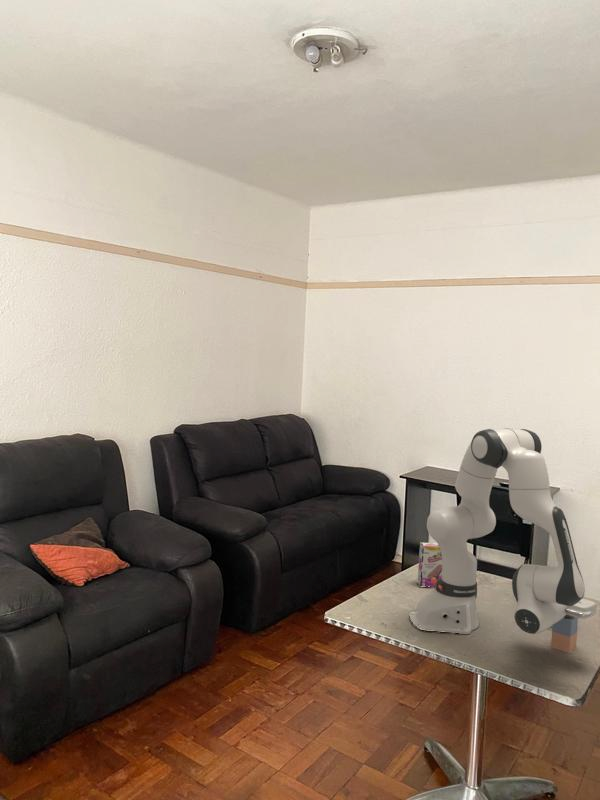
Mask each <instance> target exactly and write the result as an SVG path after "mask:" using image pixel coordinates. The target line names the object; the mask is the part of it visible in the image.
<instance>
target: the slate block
mask: <svg viewBox="0 0 600 800" xmlns="http://www.w3.org/2000/svg"><path fill="white" fill-rule="evenodd" d="M578 623H579V618H577V617H573V616H572V617H568V616H565V617H564V618H562V619H561V620H560V621H558V622H557V623H555V624H553V625H552V627H551V628H552V629H551V633H552V632H556V633H559V634H562V635H565V636H568V637H571V636H572V635H574V634H575V633H576V632H577V633H578V625H579V624H578Z"/></svg>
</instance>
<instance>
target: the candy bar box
mask: <svg viewBox="0 0 600 800" xmlns="http://www.w3.org/2000/svg"><path fill="white" fill-rule="evenodd" d="M433 577H435V578H436V579H437V580H439V579H440V578H441V577H442V554H441V550H440V547H439V545H438V543H437V542H419V552H418V570H417V584H418V583H419V585H420V586H427V587H428V586H430V587H436V585H434V584H433V583H432V582H431V579H432V578H433ZM419 585H418V586H419ZM420 586H419V587H420Z"/></svg>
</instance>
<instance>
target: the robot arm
mask: <svg viewBox="0 0 600 800" xmlns="http://www.w3.org/2000/svg"><path fill="white" fill-rule="evenodd" d="M541 441H542V440H541V438H540V437H539V435H538V434H537V433H536V432H534V431H532V430H528V429H524V428H521V429H520V428H519V429H518V428H514V427H513V428H512V427H509V428H507V427H504V428H495V429H492V428H487V429H482V430H479V431H478V432H476V433H475V434H474V435H473V437H472V439H471V442H470V443H469V445H468V447H467V448H466V451H465V452H464V453H465V454H464V455H463V458H462V460H461V464H460V467H459V470H458V473H457V477H456V480H455V484H454V488H455V490H456V492H457V493H458V495H459V496H460V497H461V500H460V503H459V504H458V505H456V506H447V507H442V508H439V509H437V510H435V511H432V512H431V513H430V514H429V515H428V516H427V520H426V528H427V533H428V534H429V536H430V537H431V538H432V539H433V540H434V541H435V543H438V545H439V547H440V550H441V554H442V577H441V578H440V579H439V580H437V579H436V578H435V577H433V578H432V579H431V582H432V583H433V584H434V585H436V588H434V589H433V590H431V591H430V592H428V594H426V595H424V596H422V597H421V598H419V600H418V602H417V605H416V611H410V612H409V616H410V618H411V620H412V621H413V622H414V623H415V625H417V626H418V627H419V628H422V629H425V630H434V631H445V632H452V633H451V634H455V633H459V635H469V634H471V633H472V632H473V631H474V630H476V629H478V628H479V626H480V623H479V618H478V612H477V601H476V600H477V595H478V581H477V572H478V571H477V569H478V560H477V557H476V556H475V555H474V554H473V553H472V552H471V551H469V549H468V545H467V543H468V540H472V539H478V538H482V537H484V536H486V535H488V534H490V533H492V532H493V531H494V530H495V527H496V525H497V519H496V518H497V517H496V514H495V512H494V511H493V509H492V507H490V495H491V491H492V488H493V485H494V482H495V478H496V475H497V472H498V469H499V468H501V467H502V468H503V469H505V470H506V473H507V475H508V497H509V502H510V507H511V508H512V511H513V512H514V513H515V514H516V515H517V516H518V517H520V518H521V519H523V520H524V521H526V522H528V523H531V524H534V525H536V526H538V527H540V528H542V529H543V530H545V531H546V532H547V533H548V535H549V536H550V537H551V540H552V543H553V547H554V552H555V556H556V561H557V564H558V566H552V565H551V566H550V565H549V566H548V565H541V564H530V563H522V564H521V565H520V566H519V567H517V569H516V571H515V572H514V574H513V576H512V579H511V581H512V582H511V585H512V586H511V587H512V593H513V596H514V598H515V601H516V602H517V605H516V608H515V611H514V616H513V617H514V621H515V624H516V625H517V626H518V627H519V629H520V630H522V631H523V632H525V633H527V634H530V635H538V634H540V633H543V632H545V631H547V630H548V629H550V628H552V627H551V626H552V625H553V624H555V623H557V622H558V621H560V620H561V619H562V618H564V617H565V615H566V614H567V615H570V616H573V617H577V618H578V619H583V620H586V619H590V618H592V617H593V616H595V615H596V614H597V603H596V602H595V601H592V600H589V599H585V598H584V596H585V591H586V590H585V589H586V588H585V583H584V579H583V576H582V573H581V570H580V568H579V567H580V566H579V565H578V561H577V557H576V553H575V548H574V545H573V540H572V536H571V531H570V528H569V525H568V521H567V518H566V516H565V513H564V511H563V510H562V508H559V507H558V506H556V503H555V502H554V500H553V498H552V495H551V487H550V478H549V472H548V468H547V464H546V459H545V458H544V456H543V455H542V446H543V445H542V442H541ZM410 614H411V615H414V616H411V615H410ZM419 625H421V626H419Z"/></svg>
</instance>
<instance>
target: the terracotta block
mask: <svg viewBox="0 0 600 800" xmlns="http://www.w3.org/2000/svg"><path fill="white" fill-rule="evenodd" d="M577 639H578V631H577V632H576V633H575V634H574V635H572V636H571V637H568V636H565V635H562V634H559V633H556V632H552V631H551V643H550V647H551V649H555V650H559V651H561V652H564V653H567V654H571V653H572V652H573V651H574V650H575V649H576V648H577Z"/></svg>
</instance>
